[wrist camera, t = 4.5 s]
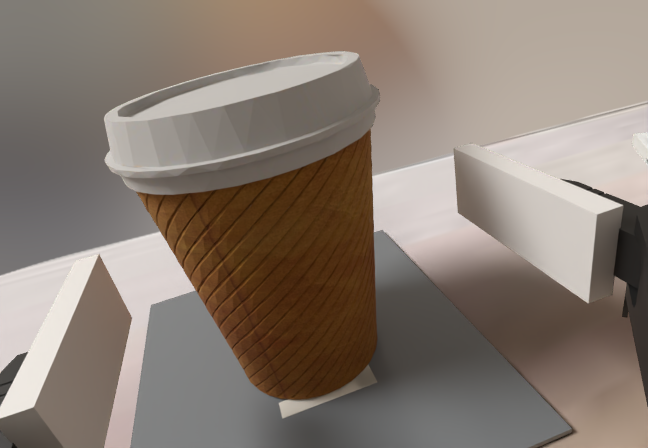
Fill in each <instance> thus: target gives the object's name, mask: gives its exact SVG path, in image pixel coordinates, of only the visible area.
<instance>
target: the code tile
mask: <svg viewBox="0 0 648 448" xmlns="http://www.w3.org/2000/svg"><path fill="white" fill-rule="evenodd" d="M374 253H375V288H376V323H377V345H376V350H375V352H374V354H373V357H372V359H371V361H370V362H369V364H368V365H367V366H366V368H365V369H364V370H363V371H362V372H361V373H360V374H359V375H358V376H357V377H356V378H355V379H353V380H352V381H351V382H349V383H348V384H346V385H345V386H343V387H341V388H340V389H337V390H335V391H333V392H330V393H328V394H326V395H322V396H318V397H314V398H310V399H300V400H294V399H280V398H277V397H273V396H269V395H267V394H265V393H263V392H262V391H260V390H259V389H258V388H256V387H255V386H254V385H253V384H252V383H251V382H250V380H249V379H248V377H247V375H246V374H245V371H244V369H243V368H242V366H241V365H240V363H239V361H238V359H237V358H236V356H235V355H234V353H233V351H232V349H231V348H230V346H229V345H228V343H227V341H226V339H225V338H224V336H223V335H222V333H221V331H220V330H219V328H218V326H217V325H216V323H215V321H214V320H213V318H212V316H211V315H210V313H209V312H208V310H207V308H206V306H205V305H204V303H203V301H202V300H201V298H200V297H199V295H198V293H197V291H193V292H190V293H187V294H184V295H181V296H178V297H175V298H172V299H169V300H165V301H162V302H159V303H156V304H153V305H151V308H150V315H149V322H148V329H147V336H146V343H145V350H144V357H143V364H142V371H141V378H140V384H139V391H138V398H137V405H136V412H135V419H134V426H133V433H132V440H131V447H130V448H537V447H540V446H542V445H544V444H547V443H549V442H551V441H553V440H556V439H558V438H560V437H563V436H565V435H567V434H569V433H572V428H571V427H570V426H569V425H568V424H567V423H566V422H565V421H564V420H563V419H562V418H561V417H560V416H559V415H558V413H557V412H556V411H555V410H554V409H553V408H552V407H551V406H550V405H549V404H548V403H547V402H546V401H545V400H544V399H543V398H542V397H541V396H540V395H539V394H538V393H537V391H536V390H535V389H534V388H533V387H532V386H531V385H530V384H529V383H528V382H527V381H526V380H525V379H524V378H523V377H522V376H521V375H520V374H519V373H518V372H517V371H516V370H515V368H514V367H513V366H512V365H511V364H510V363H509V362H508V361H507V360H506V359H505V358H504V357H503V356H502V355H501V354H500V353H499V352H498V351H497V350H496V349H495V348H494V346H493V345H492V344H491V343H490V342H489V341H488V340H487V339H486V338H485V337H484V336H483V335H482V334H481V333H480V332H479V331H478V330H477V329H476V328H475V327H474V326H473V325H472V323H471V322H470V321H469V320H468V319H467V318H466V317H465V316H464V315H463V314H462V313H461V312H460V311H459V310H458V309H457V308H456V307H455V306H454V305H453V304H452V303H451V301H450V300H449V299H448V298H447V297H446V296H445V295H444V294H443V293H442V292H441V291H440V290H439V289H438V288H437V287H436V286H435V285H434V284H433V283H432V282H431V281H430V280H429V278H428V277H427V276H426V275H425V274H424V273H423V272H422V271H421V270H420V269H419V268H418V267H417V266H416V265H415V264H414V263H413V262H412V261H411V260H410V259H409V258H408V256H407V255H406V254H405V253H404V252H403V251H402V250H401V249H400V248H399V247H398V246H397V245H396V244H395V243H394V242H393V241H392V240H391V239H390V238H389V237H388V236H387V235H386V233H385V232H384V231H383V230H381V231H378V232H374Z"/></svg>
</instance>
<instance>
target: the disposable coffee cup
mask: <svg viewBox="0 0 648 448" xmlns="http://www.w3.org/2000/svg"><path fill="white" fill-rule="evenodd" d="M379 102H380V93H379V89H377V88H376V87H374V86H373V85H371V84H369V81H368V79H367V76H366V73H365V71H364V68H363V66H362V63H361V60H360V58H359V55H358V53H353V52H344V51H340V52H328V53H316V54H309V55H301V56H295V57H289V58H284V59H278V60H273V61H268V62H263V63H259V64H254V65H250V66H245V67H241V68H237V69H232V70H228V71H224V72H220V73H216V74H212V75H208V76H205V77H201V78H197V79H193V80H190V81H187V82H183V83H180V84H177V85H173V86H171V87H168V88H164V89H162V90H159V91H156V92H153V93H150V94H146V95H144V96H141V97H139V98H136V99H134V100H131V101H129V102H127V103H124V104H122V105H120V106H118V107H116V108H114V109H112V110H111V111H109V112H108V113H107V114H106V115H105V117H104V121H105V126H106V131H107V136H108V141H109V146H110V151H109V152H108V154H107V155H106V158H105V162H106V164H107V166H108V167H109V169H110V170H111V171H112V173H115V174H118V175H121V177H122V179H123V181H124V183H125V184H126V185H127V187H129V188H131V189H133V190H135V191H136V192H137V194H138V196H139V197H140V198H141V200H142V202H143V203H144V205H145V207H146V209H147V211H148V212H149V213H150V214H151V217H152V218H153V220H154V222H155V223H156V225H157V226H158V228H159V229H160V232H161V234H162V235H163V237H164V238H165V240H166V241H167V243H168V245H169V247H170V249H171V250H172V252H173V253H174V255H175V256H176V258H177V260H178V262H179V263H180V265H181V266H182V268H183V269H184V272H185V273H186V275H187V277H188V278H189V280H190V281H191V283H192V285H193V286H194V288H195V290H196V291H197V293H198V295H199V297H200V298H201V300H202V301H203V303H204V305H205V306H206V308H207V310H208V312H209V313H210V315H211V316H212V318H213V320H214V321H215V323H216V325H217V326H218V328H219V330H220V331H221V333H222V335H223V336H224V338H225V339H226V341H227V343H228V345H229V346H230V348H231V349H232V351H233V353H234V355H235V356H236V358H237V359H238V361H239V363H240V365H241V366H242V368H243V369H244V371H245V374H246V375H247V377H248V379H249V380H250V382H251V383H252V384H253V385H254V386H255V387H256V388H258V389H259V390H260V391H262V392H263V393H265V394H267V395H269V396H273V397H277V398H280V399H294V400H300V399H310V398H314V397H318V396H322V395H326V394H328V393H330V392H333V391H335V390H337V389H340V388H341V387H343V386H345V385H346V384H348V383H349V382H351V381H352V380H353V379H355V378H356V377H357V376H358V375H359V374H360V373H361V372H362V371H363V370H364V369H365V368H366V366H367V365H368V364H369V362H370V361H371V359H372V357H373V354H374V352H375V350H376V345H377V323H376V288H375V253H374V221H373V191H372V161H371V137H370V136H371V127H372V126H373V123H374V120H375V117H376V116H375V108H376V107H377V105H378V104H379Z"/></svg>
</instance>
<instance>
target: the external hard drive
mask: <svg viewBox="0 0 648 448" xmlns="http://www.w3.org/2000/svg"><path fill="white" fill-rule="evenodd" d="M632 146H633V147H634V149H635V150H636V151H637V153H638V154H639V155H640V157H641V158H642V159H643V161H644V162H645V163H647V164H648V132H647V133H636V134H633V140H632Z"/></svg>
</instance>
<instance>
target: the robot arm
mask: <svg viewBox="0 0 648 448" xmlns="http://www.w3.org/2000/svg"><path fill="white" fill-rule="evenodd" d="M454 161H455V176H456V191H457V205H458V213H459V214H461V215H462V216H464V217H465V218H466V219H468V220H469V221H471V222H472V223H474V224H475V225H476V226H478V227H479V228H481V229H482V230H484V231H485V232H487V233H488V234H489V235H491V236H492V237H494V238H495V239H497V240H498V241H499V242H501V243H502V244H504V245H505V246H507V247H508V248H509V249H511V250H512V251H514V252H515V253H517V254H518V255H519V256H521V257H522V258H524V259H525V260H527V261H528V262H529V263H531V264H532V265H534V266H535V267H537V268H538V269H539V270H541V271H542V272H544V273H545V274H547V275H548V276H550V277H551V278H552V279H554V280H555V281H557V282H558V283H560V284H561V285H562V286H564V287H565V288H567V289H568V290H570V291H571V292H572V293H574V294H575V295H577V296H578V297H580V298H581V299H582V300H584V301H585V302H587V303H588V304H589V303H592V302H594V301H597V300H599V299H602V298H605V297H607V296H610V295H612V292H613V285H614V277H615V276H616V277H618V278H620V279H621V280H623V281H625V282H626V283H627V286H626V293H625V300H624V307H623V314H622V317H627V316H628V312H629V316H630V321H631V326H632V331H633V336H634V341H635V346H636V351H637V356H638V361H639V366H640V371H641V376H642V381H643V386H644V391H645V396H646V401H647V406H648V205H645V206H642V207H639V206H637V205H634V204H632V203H629V202H627V201H624V200H622V199H619V198H617V197H614V196H612V195H609V194H607V193H606V194H604V192H602V191H599V190H597V189H592V187H589V186H587V185H584V184H582V183H579V182H575V181H570V180H564V179H558V178H556V177H553V176H551V175H548V174H546V173H544V172H541V171H539V170H536V169H534V168H531V167H529V166H527V165H524V164H522V163H519V162H517V161H514V160H512V159H510V158H507V157H505V156H502V155H500V154H497V153H495V152H493V151H490V150H488V149H485V148H483V147H480V146H478V145H475V144H473V143H470V144H466V145H463V146H460V147H457V148H454ZM131 320H132V317H131V315H130V313H129V311H128V309H127V307H126V305H125V303H124V302H123V300H122V298H121V296H120V294H119V292H118V290H117V288H116V286H115V284H114V282H113V280H112V278H111V276H110V274H109V273H108V271H107V269H106V267H105V265H104V263H103V261H102V259H101V257H100V255H99V254H97V255H94V256H90V257H87V258H84V259H80V260H77V261H75V262H74V264H73V266H72V268H71V270H70V272H69V274H68V276H67V278H66V280H65V282H64V284H63V286H62V288H61V290H60V291H59V293H58V295H57V297H56V299H55V301H54V303H53V305H52V307H51V309H50V311H49V313H48V315H47V317H46V319H45V321H44V323H43V324H42V326H41V328H40V330H39V332H38V334H37V336H36V338H35V340H34V342H33V344H32V346H31V348H30V350H29V352H26V353H23V354H20V355H17V356H16V357H15V358H14V359H13V360H12V361H11V362H10V363H9V364H8V365H7V366H6V367H5V369H4V370H3V371H2V372H1V373H0V448H104V444H105V440H106V435H107V431H108V426H109V421H110V417H111V412H112V408H113V403H114V398H115V394H116V389H117V385H118V380H119V375H120V371H121V366H122V362H123V357H124V352H125V348H126V343H127V338H128V334H129V329H130V325H131Z"/></svg>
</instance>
